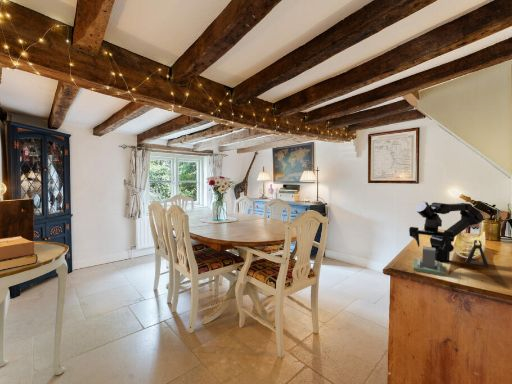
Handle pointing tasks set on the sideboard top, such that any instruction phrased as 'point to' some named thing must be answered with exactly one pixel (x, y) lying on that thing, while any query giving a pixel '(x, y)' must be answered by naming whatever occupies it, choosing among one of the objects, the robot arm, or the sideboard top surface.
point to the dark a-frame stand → (471, 253)
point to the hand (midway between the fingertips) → (429, 247)
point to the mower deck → (437, 270)
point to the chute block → (428, 257)
